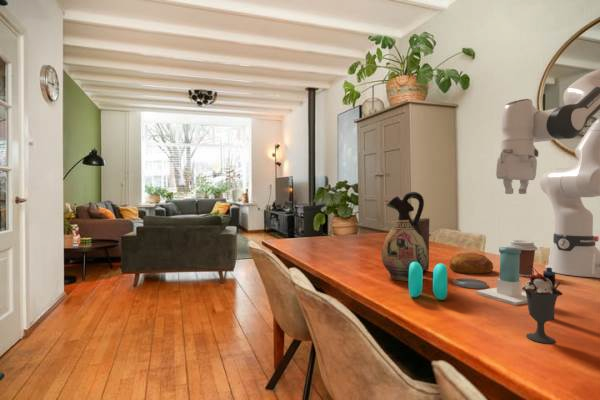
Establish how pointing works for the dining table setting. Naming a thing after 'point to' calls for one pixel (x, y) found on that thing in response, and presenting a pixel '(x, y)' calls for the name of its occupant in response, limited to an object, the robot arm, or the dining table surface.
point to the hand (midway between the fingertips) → (516, 194)
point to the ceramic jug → (404, 239)
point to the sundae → (541, 304)
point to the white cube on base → (506, 292)
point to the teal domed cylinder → (509, 264)
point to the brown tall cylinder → (425, 235)
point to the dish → (470, 283)
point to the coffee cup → (525, 256)
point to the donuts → (438, 280)
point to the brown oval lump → (471, 263)
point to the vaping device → (550, 278)
